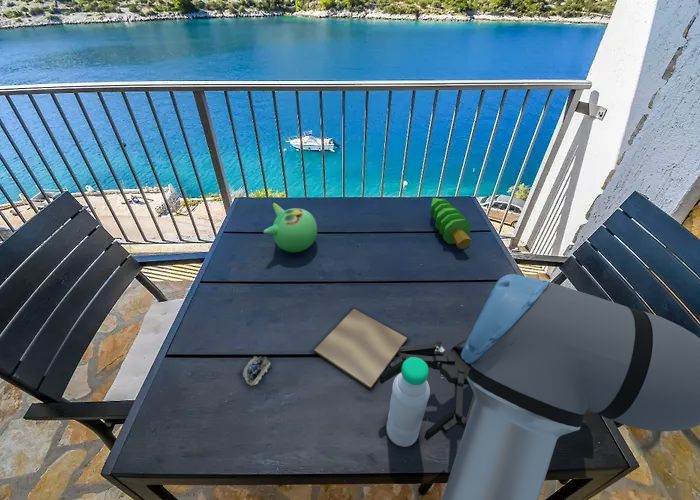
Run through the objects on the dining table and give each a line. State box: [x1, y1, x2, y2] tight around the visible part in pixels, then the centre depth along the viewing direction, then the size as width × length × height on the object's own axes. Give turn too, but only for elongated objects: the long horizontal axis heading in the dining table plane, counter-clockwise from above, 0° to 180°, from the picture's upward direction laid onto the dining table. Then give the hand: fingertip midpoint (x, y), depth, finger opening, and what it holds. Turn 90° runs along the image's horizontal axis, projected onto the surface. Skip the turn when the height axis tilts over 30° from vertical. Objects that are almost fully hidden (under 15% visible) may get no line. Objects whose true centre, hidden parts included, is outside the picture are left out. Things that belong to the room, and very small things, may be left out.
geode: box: [242, 355, 272, 387], centre depth 88 cm, size 7×8×2 cm
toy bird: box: [263, 202, 318, 253], centre depth 124 cm, size 18×17×15 cm
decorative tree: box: [429, 197, 472, 250], centre depth 133 cm, size 11×12×30 cm
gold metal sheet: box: [313, 308, 408, 390], centre depth 94 cm, size 18×18×1 cm
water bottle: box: [386, 357, 431, 448], centre depth 69 cm, size 7×7×25 cm
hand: (402, 405), depth 68 cm, fingers open, 13 cm apart
